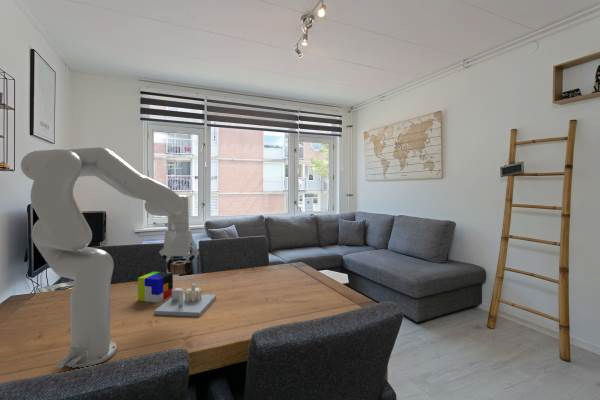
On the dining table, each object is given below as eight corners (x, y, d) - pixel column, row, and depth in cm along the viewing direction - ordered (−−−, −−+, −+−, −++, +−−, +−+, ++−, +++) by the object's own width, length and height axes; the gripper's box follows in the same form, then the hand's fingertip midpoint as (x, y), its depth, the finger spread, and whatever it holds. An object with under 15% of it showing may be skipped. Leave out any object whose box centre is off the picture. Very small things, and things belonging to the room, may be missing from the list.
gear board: (199, 316, 114) (199, 295, 114) (154, 314, 115) (154, 294, 115) (216, 298, 133) (216, 280, 133) (177, 296, 134) (177, 279, 134)
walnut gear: (183, 275, 114) (183, 265, 113) (167, 275, 114) (167, 264, 114) (191, 270, 120) (190, 260, 120) (175, 269, 120) (175, 260, 120)
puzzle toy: (158, 302, 127) (158, 279, 127) (138, 300, 129) (137, 277, 129) (172, 294, 137) (172, 273, 136) (153, 292, 139) (153, 271, 138)
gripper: (151, 227, 113) (153, 273, 114) (196, 228, 111) (196, 275, 113) (162, 224, 120) (163, 268, 121) (203, 225, 119) (204, 269, 120)
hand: (179, 271), depth 117 cm, fingers closed on walnut gear, 6 cm apart
